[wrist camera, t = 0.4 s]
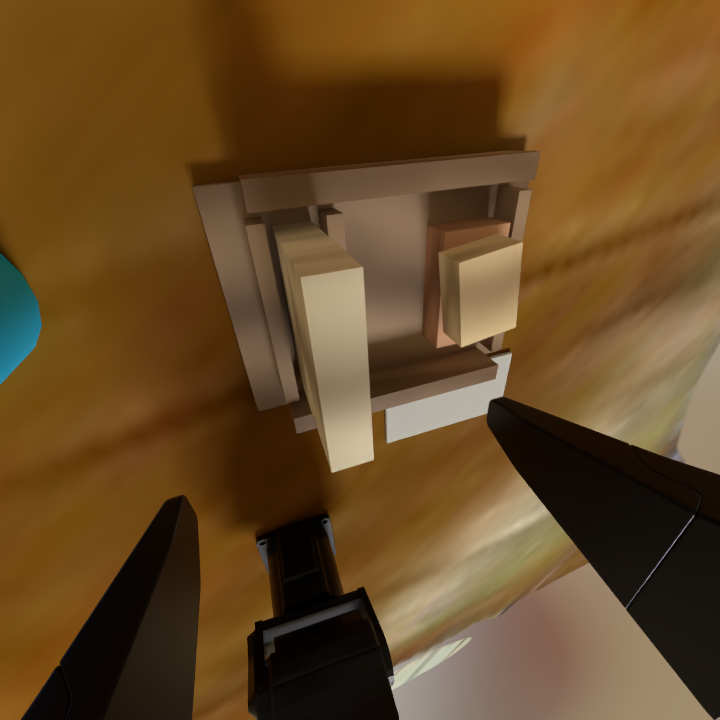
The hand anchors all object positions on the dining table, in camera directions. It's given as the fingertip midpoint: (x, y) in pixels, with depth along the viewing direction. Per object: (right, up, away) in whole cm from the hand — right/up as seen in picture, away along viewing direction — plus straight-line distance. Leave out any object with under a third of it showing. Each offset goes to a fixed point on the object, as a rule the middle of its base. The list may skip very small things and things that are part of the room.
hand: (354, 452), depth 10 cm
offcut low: (+6, +8, +12) cm, 15 cm away
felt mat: (+7, 0, +19) cm, 20 cm away
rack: (+2, +7, +11) cm, 14 cm away
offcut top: (+6, +7, +10) cm, 14 cm away
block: (-3, +6, +10) cm, 12 cm away
